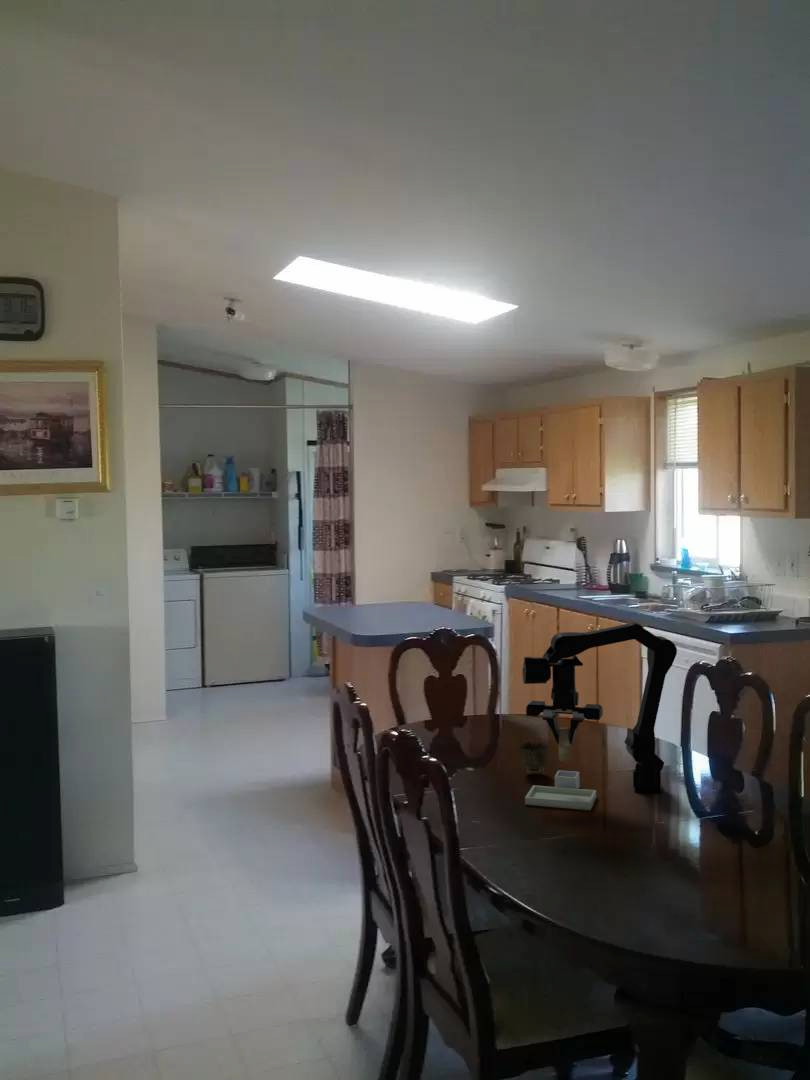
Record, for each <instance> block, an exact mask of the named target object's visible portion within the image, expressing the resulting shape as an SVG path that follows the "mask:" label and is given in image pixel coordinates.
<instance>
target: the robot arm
mask: <svg viewBox="0 0 810 1080" xmlns="http://www.w3.org/2000/svg"><path fill="white" fill-rule="evenodd" d="M633 640H635V641H636V642H638V643H640V644H641V645H643V646H644V647H645V648H646V649H647V650H646V658H647V659H646V660H647V661H646V662H647V675H646V679H645V683H644V689H643V693H642V698H641V703H640V707H639V711H638V715H637V717H638V718H637V722H636V724H635V725H634V727H633V728H630V727H628V728H627V730H626V738H625V740H624V744H625V746H626V747H625V748H626V751H627V753H628V754H629V755H630V756H631V758H632V759H634V761H635V767H634V769H633V771H632V779H633V780H632V783H633V784H632V785H633V786H632V787H633V788H634V792H635V793H642V794H643V793H645V794H658V795H661V794H662V791H663V784H662V783H663V781H662V770H663V768H664V765H665V762H664V760H662V759H661V758H660V757H659V756H658V754H656V733H655V727H656V722H657V718H658V717H657V716H658V711H659V707H660V703H661V699H662V693H663V688H664V683H665V679H666V676H667V673H668V672H669V670H671V668H672V667H673V663H674V662H675V659H676V657H677V653H678V649H677V646H676V644H675V643H674V642H673V641H671V640H670V639H668V638H666V637H664V636H661V635H660V636H659V635H655V634H653V633H652V632H650V631H648V630H647V629H646V628H644V627H643V626H642V625H641V624H639V623H638V622H635V621H631V622H628V623H626V624H621V625H617V626H612V627H607V628H606V627H605V628H602V629H601V628H600V629H596V630H592V631H586V632H572V631H571V632H570V631H569V632H558V633H555V634H554V635H553V636H552V638H551V639H550V646H549V647H548V648H547V650H546V651H545V652H544V654H543V655H542V656H541V657H538V656H537V657H533V656H532V657H531V656H524V657H523V664H522V665H523V666H522V669H521V670H522V681H523V685H534V684H538V685H539V684H540V685H542V684H547V683H548V682H549V681H550V680H551V678H552V687H551V693H550V696H551V697H550V698H551V700H552V705H548V704H547V703H546V701H544V700H543V701H542V700H531V701H530V702H529V703H528V704H527V705H526V707H525V715H526V716H528V717H529V716H530V717H538V716H540V715H541V714H542V716H543V717H542V720H543V721H546V722H547V725H548V726H549V728H550V730H551V733H552V734H553V737H554V740H555V742H556V744H559V720H558V719H559V714H564V715H572V716H573V717H572V718H571V719H570V726H569V729H570V744H571V745H573V742H574V739H575V735H576V732H577V729H578V727H579V725H580V723H583V722H584V721H585V719H586V720H589V721H599V720H601V719H602V717H603V712H604V711H603V706H602V705H601V704H598V703H597V704H596V703H586V704H585V705H584V707H580V706H579V692H578V691H576V689H577V688H576V667H583V666H584V663H583V662H582V661H581V660H580V659H579V657H578V656H577V655H580V654H582V653H583V652H586V651H587V650H589V649H592V648H597V647H601V646H602V647H603V646H606V645H607V646H608V645H612V644H617V643H622V642H627V641H633Z"/></svg>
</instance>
